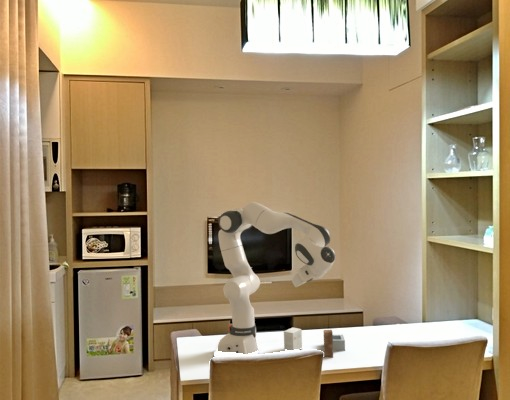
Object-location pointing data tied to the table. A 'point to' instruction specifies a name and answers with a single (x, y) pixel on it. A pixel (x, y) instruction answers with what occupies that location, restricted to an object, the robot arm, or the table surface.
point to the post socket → (338, 342)
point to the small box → (293, 339)
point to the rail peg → (328, 343)
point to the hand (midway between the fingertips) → (307, 280)
